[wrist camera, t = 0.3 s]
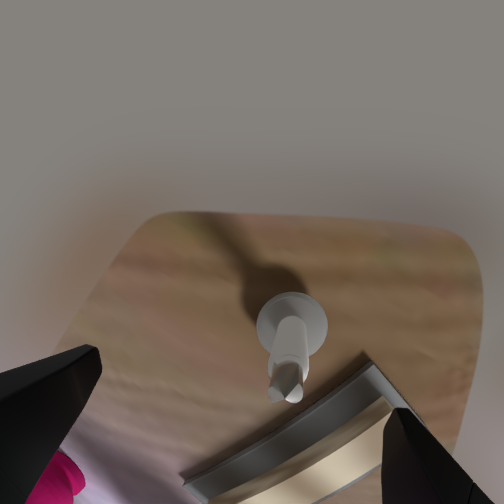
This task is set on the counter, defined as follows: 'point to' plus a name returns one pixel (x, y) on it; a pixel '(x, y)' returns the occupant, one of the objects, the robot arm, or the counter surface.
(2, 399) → the robot arm
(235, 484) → the stand
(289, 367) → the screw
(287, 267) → the counter surface
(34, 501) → the pepper mill
